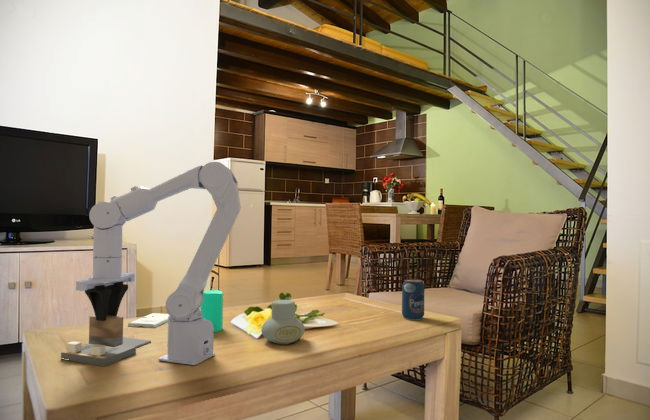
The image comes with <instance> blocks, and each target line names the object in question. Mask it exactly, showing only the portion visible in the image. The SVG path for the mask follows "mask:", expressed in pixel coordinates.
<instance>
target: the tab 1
mask: <svg viewBox="0 0 650 420" xmlns="http://www.w3.org/2000/svg"><path fill="white" fill-rule="evenodd" d="M81 346H83V345H82V342H80V341H76V340H75V341H70V342H67V343H66V351H67V352H73V353H76V352H79V351H81Z"/></svg>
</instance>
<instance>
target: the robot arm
mask: <svg viewBox="0 0 650 420" xmlns="http://www.w3.org/2000/svg"><path fill="white" fill-rule="evenodd" d="M190 189H197V190H206V191H207V192H208V193H209V194H210V195H211V198H212V200H213V202H214V204H215V207H216V211H215V212H214V215H213V217H212V219H211V220H210V223H209V225H208V227H207V229H206V231H205V234H204V236H203V237H202V240H201V242H200V245H199V246H198V249H197V250H196V252H195V254H194V256H193V259H192V261H191V262H190V264H189V267H188V269H187V271H186V273H185V275H184V276H183V278H182V279H181V281H179V284H178V286H177V288H176V289H175V291H173V292H172V293H170V294H169V295H168V297H167V298H166V301H165V310H166V314H169V316H168V322H167V353H166V354H164V355H162V356H160V357H158V361H162V362H169V363H175V364H181V365H182V364H183V365H189V366H196V365H198V364H200V363H202V362H204V361H205V360H208V359H210V358H212V357H213V356H215V355H216V352H214V333H215V332H214V328H213V324H212V322H211V321H209V320H206V319H204V318H203V317H202V313H201V305H202V303H203V299H204V296H203V292H204V291H205V289H206V286H207V284H208V280H209V277H210V275H211V272H213V269H214V266H215V264H216V262H217V261H218V259H219V256H220V254H221V252H222V250H223V248H224V245H225V243H226V241H227V240H228V237H229V235H230V233H231V231H232V229H233V226H234V225H235V222H236V220H237V218H238V217H239V214H240V211H241V208H242V206H241V201H240V193H239V183H238V180H237V178H236V177H235V175H234V173H233V171H232V170H231V169H230V168H229V167H227V166H226V165H225V164H223V163H222V162H220V161H209V162H206V163H205V164H203V165H197V166H195V167H193V168H190V169H188V170H186V171H184V172H182V173H180V174H177V175H176V176H174V177H172V178H170V179H168V180H165V181H164V182H162V183H159V184H158V185H155V186H154V187H152V188H148V187H145V186H140V187H139V186H137V185H135V186H132V187H131V188H130V190H129V192H126V193H123V194H122V195H119V196H111V197H110V202H109V201H104V200H102V201H98V202H97V203H96V204H94V205H93V206H92V207H91V209H90V210H89V213H88V216H89V217H88V218H89V221H90V222H91V223H90V224H92V225H93V242H92V243H93V248H92V249H93V250H92V275H91V276H90V277H88V278H84V279H80V280H76V281H75V291H77V292H78V291H80V292H81V291H82V292H84V294H85V295H86V296H87V297H88V300H89V302H90V303H91V306H92V308H93V312H94V315H95V317H96V320H99V321H105V320H106V318H107V315H112V316H118V312H119V309H120V306H121V303H122V301H123V298H124V296H125V294H126V293H127V291H128V290H129V284H125V283H130V282H131V283H132V282H135V280H136V279H135V277H136V275H135V273H136V272H123V271H122V270H123V267H122V266H123V227H124V225H125V224H126V222H130V221H132V220H134V219H136V218H139V217H141V216H143V215H145V214H147V213H150V212H151V211H154V210H155V208H156V206H157V204H158V202H160V201H162V200H165V199H167V198H170V197H172V196H175V195H177V194H180V193H182V192H185V191H188V190H190ZM122 272H123V273H122Z"/></svg>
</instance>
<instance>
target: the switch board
mask: <svg viewBox="0 0 650 420" xmlns="http://www.w3.org/2000/svg"><path fill="white" fill-rule="evenodd" d="M93 345H95V344H89V343H86V344H83V345H81V351H79V352H76V353H73V352H67V350H65V351H61V352H60V359H61V358H64V359H69V360H71V361H70V362H75V363H82V364H89V365H95V366H101V367H106V366H109V365H111V364H113V363H116V362H118V361H121V360H123V359H126V358H129V357H131V356H133V355H135V354H137V353H136V352H137V348H136V347H133V346H125V345H119V346H116V347H109V346H106V351H105V354H103V355H101V356H97V355H91V346H93Z"/></svg>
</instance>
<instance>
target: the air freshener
mask: <svg viewBox="0 0 650 420" xmlns="http://www.w3.org/2000/svg"><path fill="white" fill-rule="evenodd" d="M260 329H261V330H260V331H261V334H262V336H263V338H264V339H266V340H267V341H269V342H271V343H274V344H277V345H278V344H279V345H289V344H291V343H295V342H296V341H298V340H300V339H301V338H302V337H303V336H304V333H305V329H306V328H305V324H304V323H303V321H301V319H299V318H298V317H296V301H294V300H291V299H276V300H272V302H271V317H270V318H268V319H267V320H265V321H264V322H263V323H262V326H261V328H260Z"/></svg>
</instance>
